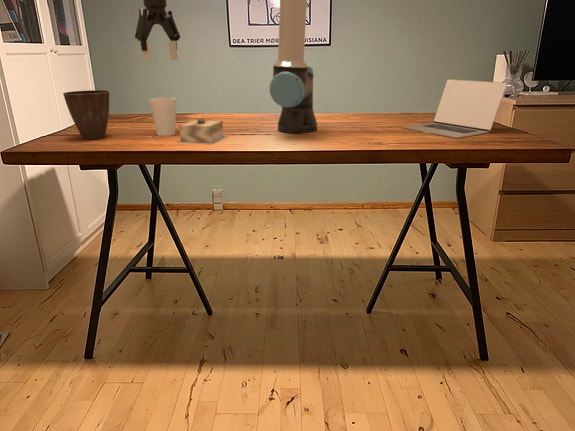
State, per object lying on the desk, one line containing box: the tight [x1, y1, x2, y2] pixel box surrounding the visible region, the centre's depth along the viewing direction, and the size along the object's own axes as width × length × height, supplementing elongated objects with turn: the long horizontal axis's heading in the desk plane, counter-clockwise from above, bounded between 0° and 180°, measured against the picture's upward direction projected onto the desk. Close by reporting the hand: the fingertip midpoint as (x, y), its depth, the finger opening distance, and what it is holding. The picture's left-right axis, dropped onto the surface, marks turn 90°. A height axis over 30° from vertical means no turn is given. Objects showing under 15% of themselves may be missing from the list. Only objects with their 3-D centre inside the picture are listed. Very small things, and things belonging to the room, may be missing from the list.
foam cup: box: [148, 96, 177, 137], centre depth 166 cm, size 10×9×13 cm
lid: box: [178, 118, 224, 143], centre depth 157 cm, size 11×11×7 cm
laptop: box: [401, 78, 508, 140], centre depth 168 cm, size 26×24×18 cm
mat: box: [174, 135, 229, 145], centre depth 159 cm, size 14×14×1 cm
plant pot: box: [63, 89, 110, 140], centre depth 162 cm, size 15×15×16 cm
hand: (161, 60), depth 163 cm, fingers open, 13 cm apart
